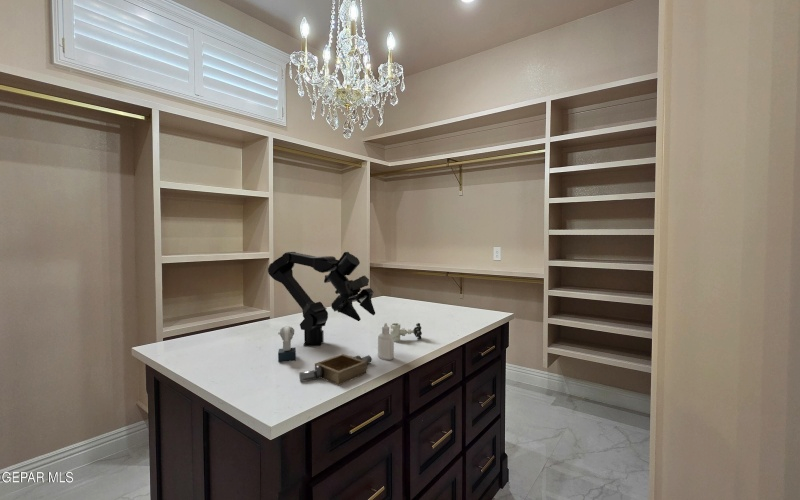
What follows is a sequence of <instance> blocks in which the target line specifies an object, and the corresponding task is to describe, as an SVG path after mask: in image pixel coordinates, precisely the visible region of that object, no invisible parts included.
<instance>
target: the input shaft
mask: <svg viewBox="0 0 800 500" xmlns="http://www.w3.org/2000/svg"><path fill="white" fill-rule="evenodd" d="M353 357H354V358H357V359H360V360H363V361H366V362H367V365H368V364H371V363H372V360H373V359H372V356H370V355H369V354H368V355H365V356H363V357H362V356H360V355H356V356H353Z"/></svg>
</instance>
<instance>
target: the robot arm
mask: <svg viewBox="0 0 800 500" xmlns="http://www.w3.org/2000/svg"><path fill="white" fill-rule="evenodd" d="M360 263H361V262H360V260H359V258H358V257H357V256H355V255H353V254H352V253H350V252H349V251H344V252H343V254H342V255H341V257H339V259H337V258H336V257H335V256H332V255H331V256H329V255H328V256H327V255H325V256H315V255H310V254H306V253H299V252H296V251H286V252H284V253H283V254H282V255H281V256H280V257H278V258H277V259H275V260H273V261H272V263H270V264H269V265H268V268H267V273H268V275H269V276H270V277H271V278H272V279H273V280H274V281H276V282H278V283H280V284H282V285H283V287H285V289H286V291H288V293H289V294H290V295H291V297H292V298H293V299H294V300H295V302H296V304H298V305H299V307H300V308H301V309H302V310H301V311H302V317H303V320H302V321H301V322H300V324H299V326H300V330H302V331H303V332H304V334H303V335H304V337H303V338H304V339H303V340H304V343H303V346H304V347H311V346H312V347H316V346H317V347H318V346H322V344H323V343H324V341H325V338H324V337H325V335H324V330H323V327H325V326H326V323H327V321H328V319H329V313H328V311H327V309H328V308H327V307H325V306H324V305H323V303H322V302H321V301H317V302H315V301H313V300H312V299H311V297H310V295H308V293H307V292H306V291H305V289H304V288H303V287H302V285H300V283H299V282H298V281H297V280H296V279H295V277H294V275H293V274H294V273H293V271H294V270H293V268H294V267H295V265H296V264H297V265H301V266H306V267H310V268H312V269H313V270H314V271H316V272H319V273H321V274H324V273H325V274H326V273H328V274H326V275H324V280H323V281H324V282H323V283H325V284H327V283H331V285H332V286H333V287H334V289H335V291H334V293H335V294H336V295H337V297H336V298H335V299H334V300H333V301H332V303H331V305H330V306H331V309H332V311H333V312H334V313H335V312H337V313H340V314H342V315H346V316H347V317H350V318H351V319H353V320H356V321H357V322H360V321H361V317H360V314H359V313H358V312H357V310H356V309H355V307H354V306H353V302H355V301H356V302H357V303H358V304H359V306H360V307H361V308H363V309H364V310H365V311H366V312H367V313H369V314H371V315H372V316H375V315H376V311H375V308H374V305H373V302H372V297H373V294H374V291H373V290H372V288H370V287H368V286H369V281H370V279H369V278H368V277H367V276H366V275H362V276H359V278H356V279H354V280H353V279H351V280H350V279H349V278H348V277H347V276H351V275H352V273H354V271H355V270H356V269H357V267H359V266H360ZM364 287H366V288H364ZM362 288H363V289H362ZM338 294H339V295H338Z"/></svg>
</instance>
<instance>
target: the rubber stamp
mask: <svg viewBox="0 0 800 500" xmlns="http://www.w3.org/2000/svg"><path fill="white" fill-rule="evenodd" d="M278 335H279V336H280V337H281V340H282V348H278V352H277V353H278V355H277V359H278V360H277V362H278V363H284V362H285V363H286V362H292V361H293V362H294V361H295V362H296V361H297V359H296V358H297V357H296V356H297V353H296V350H297V348H296V347H291V346H292V345H291V344H292V343H291V342H292V340H293V338H294V335H295V329H294V327H292V326H288V325H287V326H283V327H281V328H280V330H279V332H278ZM278 335H277V336H278Z"/></svg>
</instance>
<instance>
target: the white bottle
mask: <svg viewBox="0 0 800 500" xmlns="http://www.w3.org/2000/svg"><path fill="white" fill-rule="evenodd" d="M377 337H378V338H377V358H379V359H381V360H385V361H391V360H393V359H394V358H395V342H394V338H393V336H392V335H391V334H390V326H388V323H387V322H384V326H382V328H381V333H380V334H379V335H378V336H377Z"/></svg>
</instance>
